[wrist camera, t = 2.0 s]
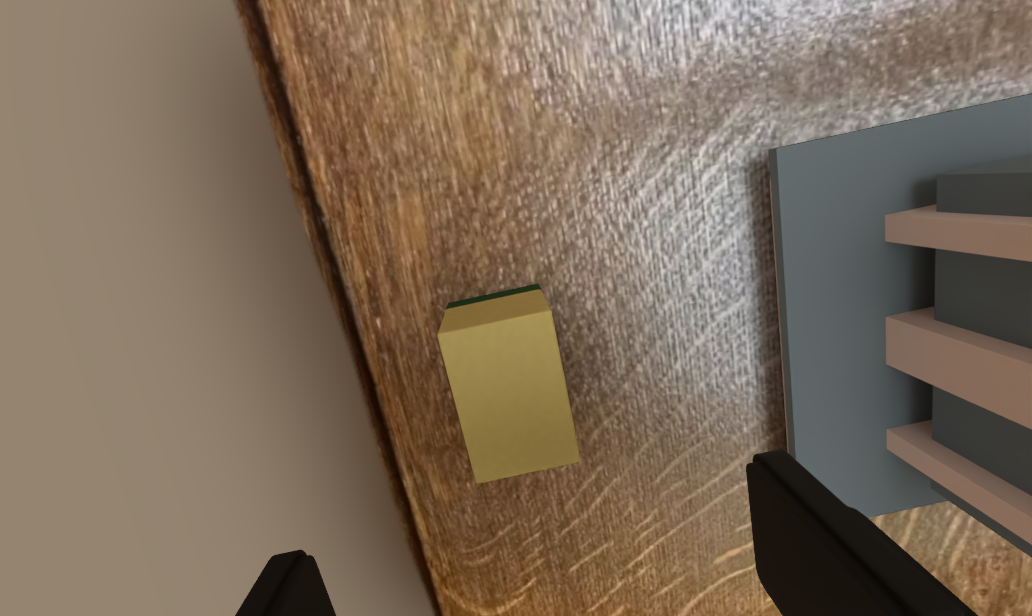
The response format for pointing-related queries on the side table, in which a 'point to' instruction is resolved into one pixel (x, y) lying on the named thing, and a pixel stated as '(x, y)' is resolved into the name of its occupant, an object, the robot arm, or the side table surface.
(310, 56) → the side table surface
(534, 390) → the sponge
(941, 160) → the desk lamp
